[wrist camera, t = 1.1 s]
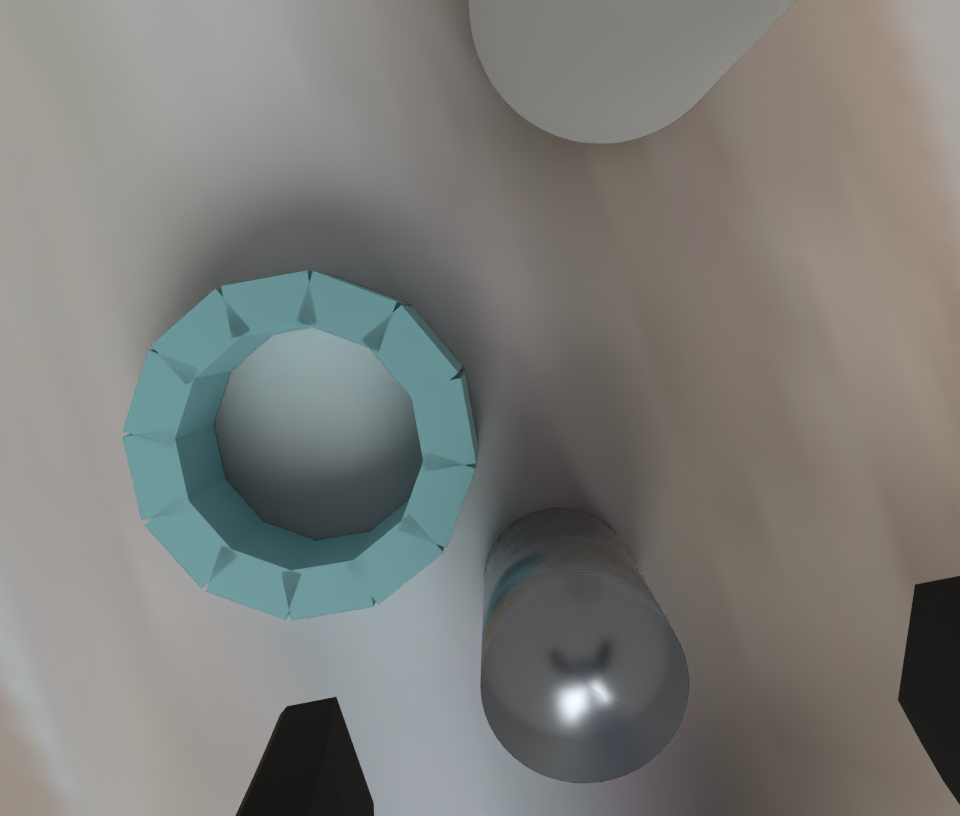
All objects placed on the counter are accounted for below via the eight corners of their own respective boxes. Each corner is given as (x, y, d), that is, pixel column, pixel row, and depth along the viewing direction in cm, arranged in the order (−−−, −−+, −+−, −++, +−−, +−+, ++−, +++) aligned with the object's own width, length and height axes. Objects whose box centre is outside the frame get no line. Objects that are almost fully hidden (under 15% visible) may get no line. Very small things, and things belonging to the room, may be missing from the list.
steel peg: (643, 638, 21) (703, 766, 15) (498, 662, 21) (499, 797, 15) (621, 496, 21) (673, 569, 15) (472, 521, 21) (464, 603, 15)
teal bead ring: (497, 554, 21) (498, 586, 18) (207, 602, 21) (169, 640, 19) (444, 255, 20) (437, 246, 17) (142, 310, 20) (93, 309, 18)
